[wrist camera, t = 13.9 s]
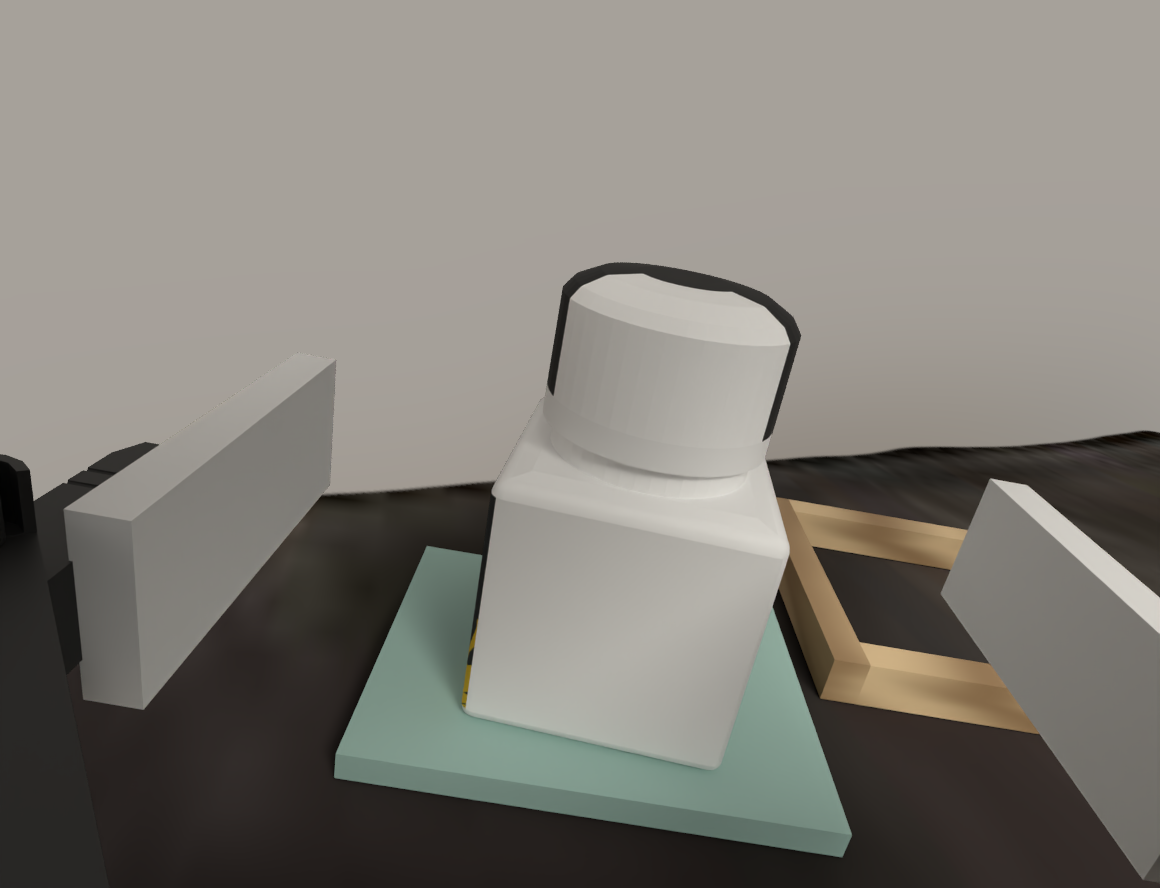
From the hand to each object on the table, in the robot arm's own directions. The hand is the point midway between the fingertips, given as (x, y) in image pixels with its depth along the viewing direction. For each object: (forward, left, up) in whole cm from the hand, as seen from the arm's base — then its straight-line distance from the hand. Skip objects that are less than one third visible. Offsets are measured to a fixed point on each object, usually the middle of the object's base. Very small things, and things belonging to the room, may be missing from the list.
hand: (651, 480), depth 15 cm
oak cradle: (-14, -12, -10) cm, 21 cm away
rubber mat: (0, -5, -10) cm, 11 cm away
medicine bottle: (-1, -5, -9) cm, 10 cm away
